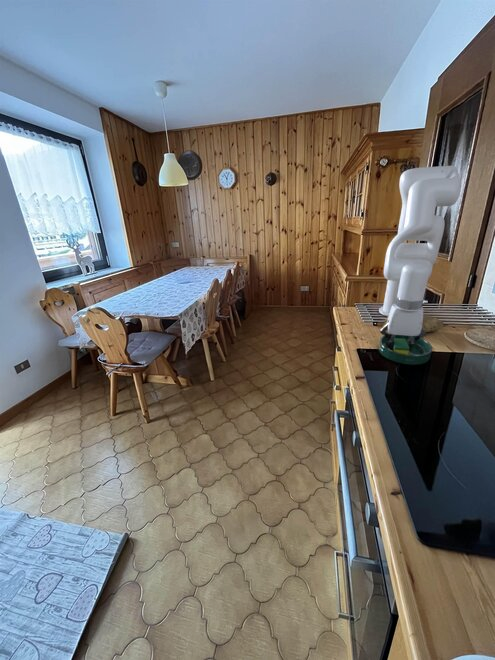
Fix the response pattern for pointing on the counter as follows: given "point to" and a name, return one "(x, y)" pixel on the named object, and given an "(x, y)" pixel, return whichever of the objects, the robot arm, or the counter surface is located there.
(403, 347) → the small sponge
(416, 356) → the bowl
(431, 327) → the sponge
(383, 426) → the counter surface
